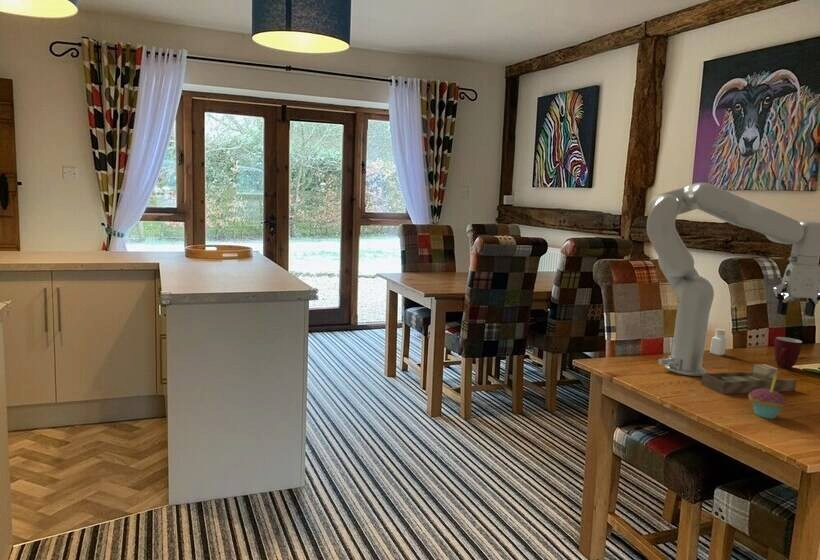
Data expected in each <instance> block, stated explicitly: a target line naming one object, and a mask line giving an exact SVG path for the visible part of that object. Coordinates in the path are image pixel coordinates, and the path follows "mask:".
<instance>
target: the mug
mask: <svg viewBox="0 0 820 560" xmlns="http://www.w3.org/2000/svg"><path fill="white" fill-rule="evenodd" d="M773 346H774V360H775V362H776V365H777V367H779V368H782V369H788V370H791V369H792V368H793V367H794V366H795V364H796V363H797V361H798V359H799V355H800V353H801V351H802V347H803V341H802V340H800V339H798V338H797V339H796V338H791V337H786V336H776V337H775V339H774V345H773ZM790 368H791V369H790Z"/></svg>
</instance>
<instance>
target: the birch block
mask: <svg viewBox="0 0 820 560" xmlns="http://www.w3.org/2000/svg"><path fill="white" fill-rule="evenodd" d="M778 370H779V368H776V367H774V366H771V365H768V364H764V363H763V364H760V363H759V364H753V370H752V372H753V375H752V377H753V378H756V379H759V380H773V378H774V377H775V375H776V374H777V375H778ZM777 375H776V377H778V376H777Z"/></svg>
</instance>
